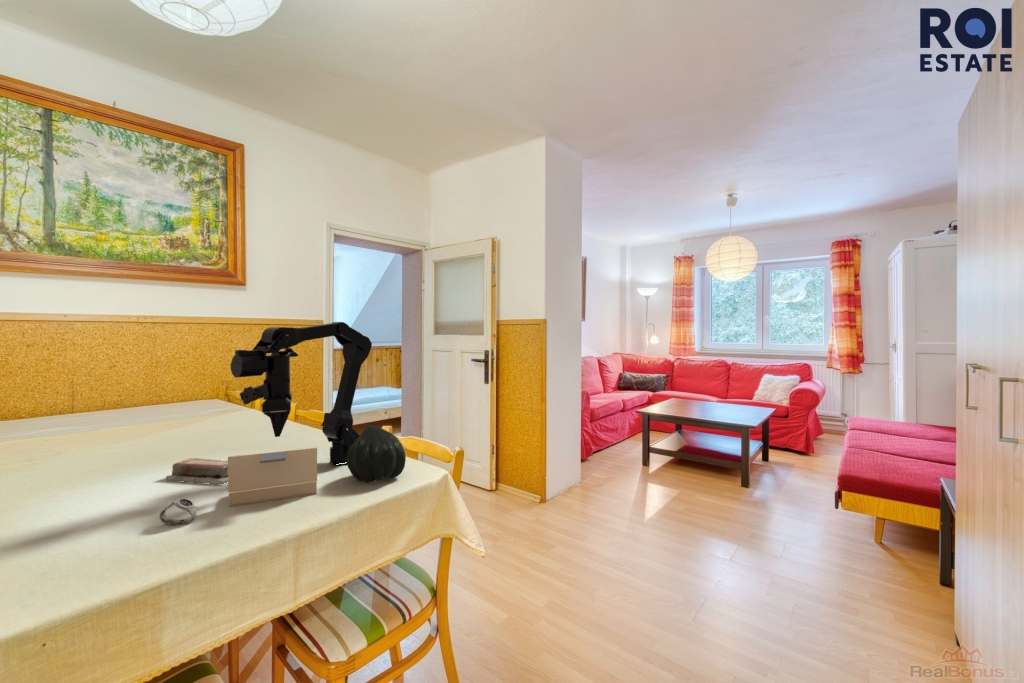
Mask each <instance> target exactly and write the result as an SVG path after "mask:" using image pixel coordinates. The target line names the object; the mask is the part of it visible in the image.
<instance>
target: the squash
mask: <svg viewBox="0 0 1024 683" xmlns="http://www.w3.org/2000/svg"><path fill="white" fill-rule="evenodd" d="M359 435H360V436H359V437H358V438H357V439H356V440H355V442H354V443H353V444H352V446H351V447H350V450H349V452H348V457H347V464H346V465H347V468H348V470H349V472H350V473H351V475H352V476H353V477H354V479H356V480H357V481H361V482H364V483H366V484H367V483H369V484H370V483H373V482H376V480H377V481H381V480H382V479H383V478H386V479H390V478H391V479H394V478H397V477H398V476H400V475H401V474H402V473H403V471H404V469H405V466H406V452H405V449H404V446H403V444H402V442H401V440H400V439H399V438H398V437H397V436H396V435H395V434H393V433H392V432H389V431H387V430H386V429H384V428H381V427H378V426H377V425H372V424H369V425H368V426H367V427H365V428H364V429H363V431H362V432H361V433H360V434H359Z"/></svg>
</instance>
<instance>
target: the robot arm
mask: <svg viewBox="0 0 1024 683" xmlns="http://www.w3.org/2000/svg"><path fill="white" fill-rule="evenodd" d="M329 337H334V339H335V340H336V341H337V343H339V344H340V346H342V356H343V359H344V365H343V369H342V373H341V377H340V381H339V385H338V390H337V394H336V398H335V402H334V406H333V409H332V410H330V412H325V413H324V415H323V421H322V423H321V425H320V426H321V427H322V433H323V434H324V436H325V437H326V440H327V442H329V443H331V446H330V447H329V463H331V466H332V465H336V464H339V463H345V462H347V457H348V452H349V450H350V447H351V446H352V444H353V443H354V442H355V440H356V439H357V438H358V437H359V436H360V434H359V433H358V432H357V431H356V430H355V429H354V428H353V426H354V418H353V414H352V406H353V402H354V397H355V393H356V389H357V385H358V382H359V378H360V377H359V376H360V372H361V367H362V365H363V364H364V362H365V361H366V360H367V359H368V358H369V355H370V352H371V351H372V347H373V346H372V344H373V343H372V341H371V340H370V338H369V337H368V336H366V335H363V334H362V333H361V332H359V331H358V330H356V329H354V328H353V327H351V326H349V325H348V324H347V323H346V322H344V321H333V322H330V323H325V324H316V325H310V326H303V327H291V326H290V327H286V326H285V327H284V326H279V327H278V326H277V327H276V326H275V327H274V326H272V327H267V328H265V329H264V331H263V332H262V333H261V338H260V339H259V340H258V342H257V343H256V345H255V346H254V347H253V348H252V349H251V350H247V349H236V350H235V351H234V355H233V357H232V358H231V362H230V365H229V366H230V371H231V374H232V376H233V377H235V378H238V379H239V378H245V377H246V378H247V377H248V378H249V377H259V376H263V374H265V378H264V379H263V384H260V385H256V386H251V385H250V386H248V387H245V388H243V391H241V392H240V393H239V397H240V400H241V401H242V403H243V405H244V406H246V405H248V404H251V403H252V402H255V401H258V400H259V399H262V398H263V400H264V401H262V404H261V412H262V414H264V415H265V416H267V417H268V418H269V419H270V422H271V426H272V429H273V434H274V437H275V438H278V437H281V434H282V433H283V430H284V428H285V425H286V423H287V420H288V417H289V416H290V413H291V410H292V400H293V396H292V395H293V394H292V392H291V358H293V357H294V358H296V357H298V356H299V354H298V353H297V352H295V351H294V350H293V348H292V347H294V346H297V345H299V344H301V343H303V342H305V341H311V340H317V339H323V338H329ZM267 354H268V355H267Z"/></svg>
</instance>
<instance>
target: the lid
mask: <svg viewBox="0 0 1024 683" xmlns="http://www.w3.org/2000/svg"><path fill="white" fill-rule="evenodd" d="M227 461H228V483H227V485H228V487H227V489H228V494H229V493H230V492H237V491H244V490H252V489H259V488H267V487H274V486H281V485H289V484H296V483H304V482H311V481H317V482H318V447H317V446H316V447H308V448H298V449H288V450H280V451H279V450H278V451H277V450H276V451H270V452H269V451H268V452H260V453H250V454H240V455H229V456H227Z"/></svg>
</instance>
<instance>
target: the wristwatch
mask: <svg viewBox="0 0 1024 683" xmlns="http://www.w3.org/2000/svg"><path fill="white" fill-rule="evenodd" d="M173 505H174V506H175V507H176V508H178V509H180V510H182V511H186V512H188V513H189V515H190V520H189V519H188V520H184V519H180V520H179V519H171V518H169V517H167V516H166V511H167V510H168V509H169V508H170V507H173ZM196 517H197V509H196V506H195V503H193V502H192V501H191V499H187V498H179V499H176V500H174V501H173V502H171V503H169V505H168V506H166V507H165V508H163V509H162V510H161V511H160V513H159V519H160V521H161V523H163V524H164V525H166V526H171V527H175V526H185V525H188V524H190V523H191V522H193V521H194V520H195V518H196Z"/></svg>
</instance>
